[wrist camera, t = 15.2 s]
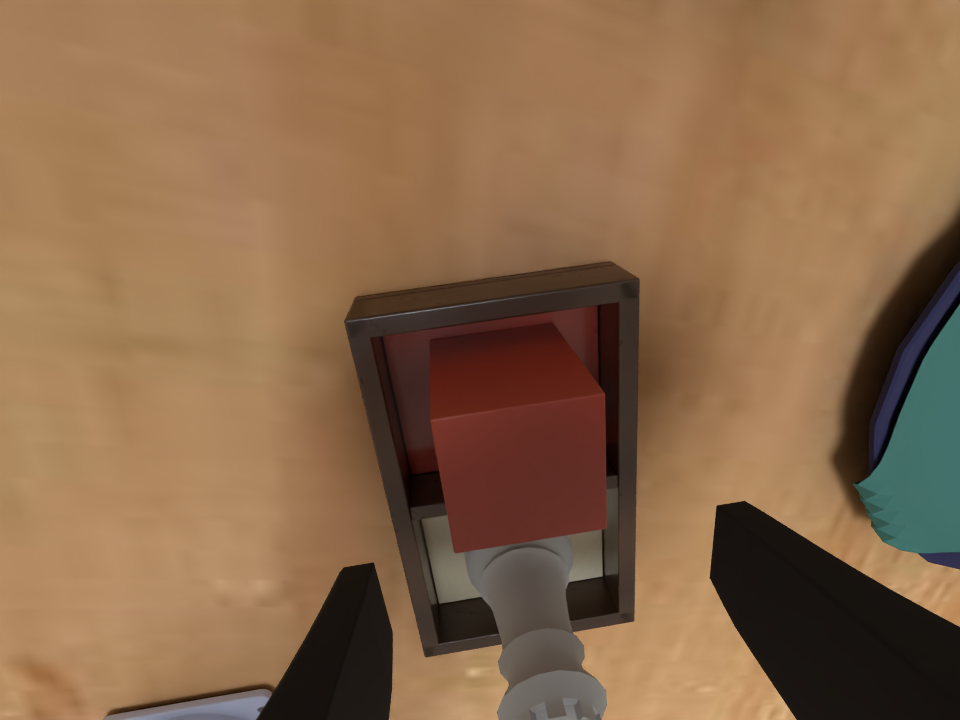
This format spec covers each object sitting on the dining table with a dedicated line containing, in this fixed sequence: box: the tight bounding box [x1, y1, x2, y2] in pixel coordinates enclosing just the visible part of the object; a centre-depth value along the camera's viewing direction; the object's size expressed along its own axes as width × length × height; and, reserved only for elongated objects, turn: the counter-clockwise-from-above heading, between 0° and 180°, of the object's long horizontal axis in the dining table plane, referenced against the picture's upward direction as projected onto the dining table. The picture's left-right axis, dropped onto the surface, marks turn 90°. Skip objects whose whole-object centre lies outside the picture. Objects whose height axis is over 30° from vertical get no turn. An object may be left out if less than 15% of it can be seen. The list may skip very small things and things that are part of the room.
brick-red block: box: [429, 323, 607, 553], centre depth 15 cm, size 4×4×6 cm
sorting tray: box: [344, 262, 639, 657], centre depth 19 cm, size 15×9×2 cm, turn 7°
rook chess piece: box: [464, 535, 607, 720], centre depth 17 cm, size 4×4×8 cm
